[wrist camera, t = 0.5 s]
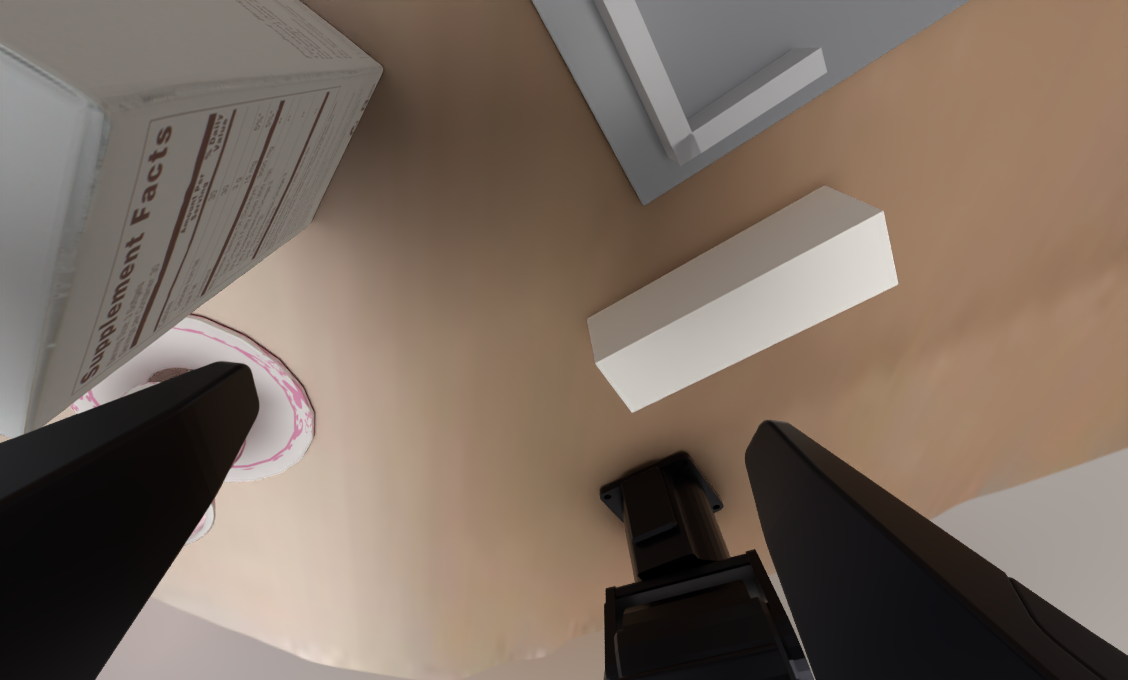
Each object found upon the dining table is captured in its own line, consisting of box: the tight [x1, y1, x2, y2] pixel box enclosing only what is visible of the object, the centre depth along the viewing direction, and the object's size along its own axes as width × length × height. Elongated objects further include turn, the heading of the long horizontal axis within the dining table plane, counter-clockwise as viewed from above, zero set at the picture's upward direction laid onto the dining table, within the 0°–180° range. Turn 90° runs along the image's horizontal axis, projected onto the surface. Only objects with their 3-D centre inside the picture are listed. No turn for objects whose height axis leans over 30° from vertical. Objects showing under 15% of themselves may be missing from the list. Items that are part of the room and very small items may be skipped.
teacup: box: [70, 315, 314, 546], centre depth 21 cm, size 12×12×6 cm
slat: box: [587, 185, 898, 413], centre depth 20 cm, size 4×12×4 cm, turn 122°
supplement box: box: [0, 0, 383, 438], centre depth 10 cm, size 7×7×13 cm
